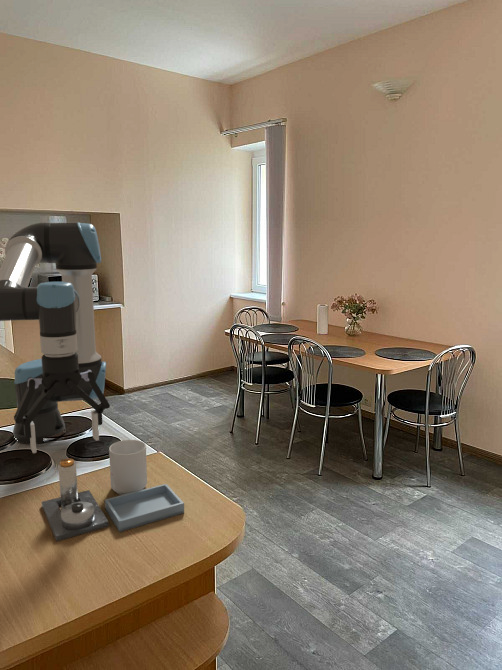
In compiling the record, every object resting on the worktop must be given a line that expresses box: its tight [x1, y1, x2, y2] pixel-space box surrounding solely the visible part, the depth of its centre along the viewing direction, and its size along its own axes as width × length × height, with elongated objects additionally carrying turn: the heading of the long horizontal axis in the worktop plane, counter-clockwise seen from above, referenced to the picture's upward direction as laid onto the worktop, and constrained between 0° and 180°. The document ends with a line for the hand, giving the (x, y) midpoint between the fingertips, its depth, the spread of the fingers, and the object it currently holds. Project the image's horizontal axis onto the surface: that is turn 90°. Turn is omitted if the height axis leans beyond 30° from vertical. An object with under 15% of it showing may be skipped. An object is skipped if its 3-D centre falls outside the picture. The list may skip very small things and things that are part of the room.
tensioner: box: [41, 489, 110, 542], centre depth 120 cm, size 16×11×5 cm
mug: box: [108, 439, 148, 496], centre depth 133 cm, size 12×9×11 cm
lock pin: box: [57, 457, 79, 510], centre depth 122 cm, size 4×4×12 cm
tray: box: [104, 483, 185, 533], centre depth 122 cm, size 15×11×2 cm
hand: (65, 444), depth 120 cm, fingers open, 13 cm apart
